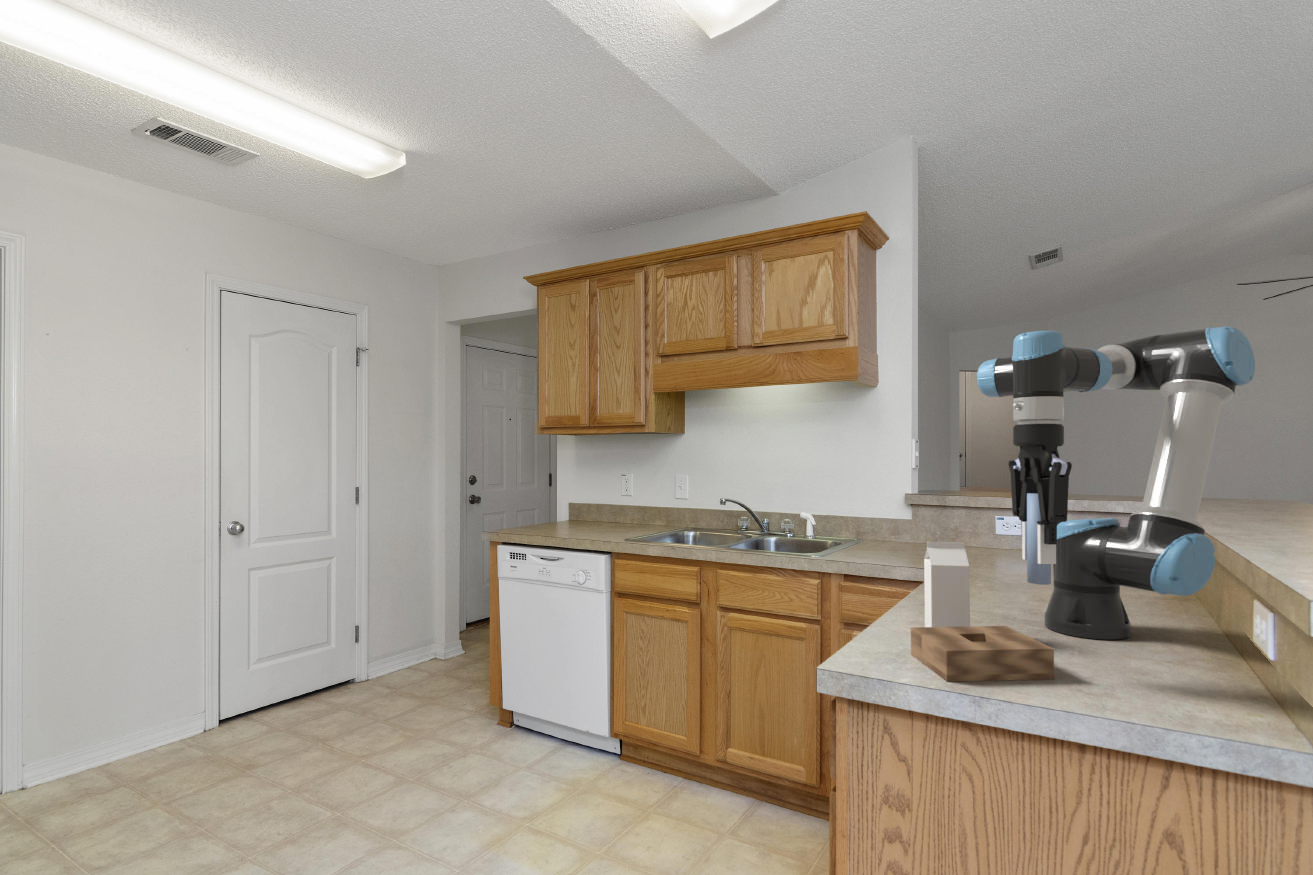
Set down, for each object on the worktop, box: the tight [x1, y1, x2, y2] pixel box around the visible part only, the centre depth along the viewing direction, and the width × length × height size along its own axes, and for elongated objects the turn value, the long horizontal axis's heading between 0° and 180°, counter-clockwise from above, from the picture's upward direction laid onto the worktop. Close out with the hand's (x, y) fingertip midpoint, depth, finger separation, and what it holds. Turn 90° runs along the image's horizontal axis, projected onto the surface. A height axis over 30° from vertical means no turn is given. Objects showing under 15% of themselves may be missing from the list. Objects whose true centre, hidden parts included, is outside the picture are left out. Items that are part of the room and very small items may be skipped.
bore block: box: [910, 625, 1055, 682], centre depth 117 cm, size 18×14×5 cm
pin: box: [1026, 493, 1052, 586], centre depth 114 cm, size 4×4×15 cm
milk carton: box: [923, 541, 971, 627], centre depth 135 cm, size 7×7×19 cm
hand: (1038, 561), depth 114 cm, fingers closed on pin, 3 cm apart
